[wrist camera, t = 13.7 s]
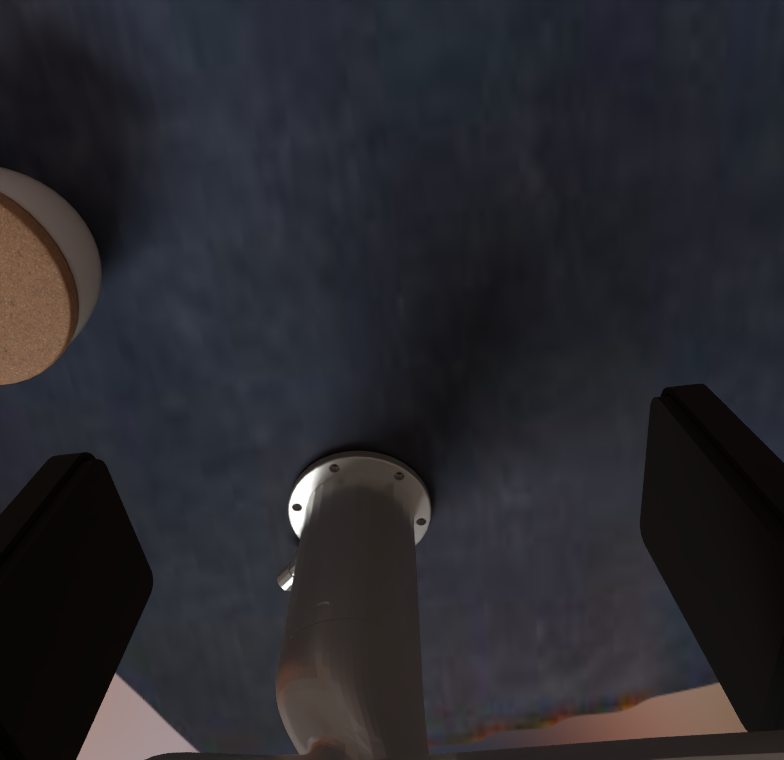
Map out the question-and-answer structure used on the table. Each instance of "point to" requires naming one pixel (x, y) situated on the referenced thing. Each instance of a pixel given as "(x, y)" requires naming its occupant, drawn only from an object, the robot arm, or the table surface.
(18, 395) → the table surface
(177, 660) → the table surface
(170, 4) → the table surface
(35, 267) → the lidded bowl
